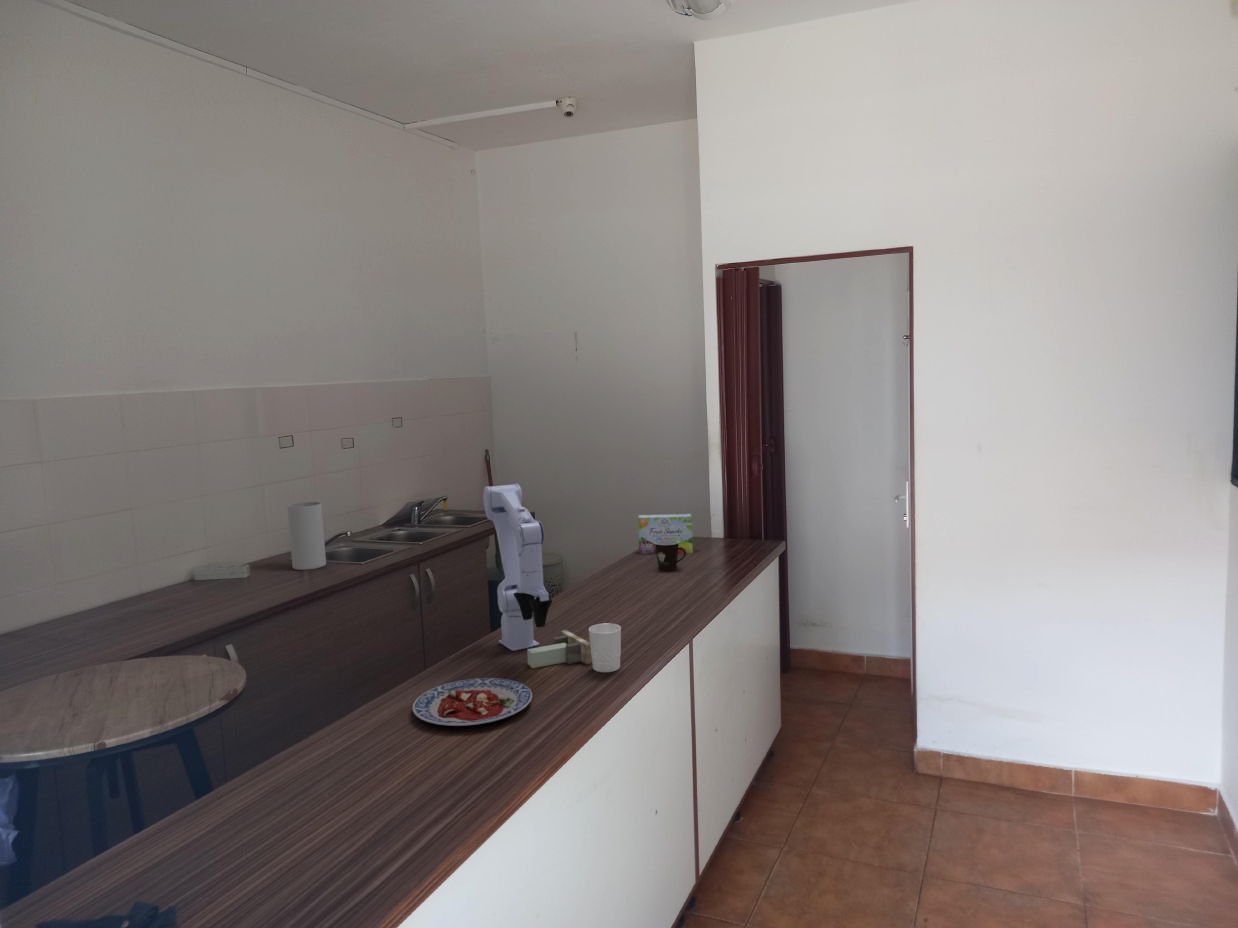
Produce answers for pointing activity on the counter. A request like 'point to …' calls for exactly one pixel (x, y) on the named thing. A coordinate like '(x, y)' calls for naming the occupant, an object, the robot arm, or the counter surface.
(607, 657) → the white cup
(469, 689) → the ceramic plate
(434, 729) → the counter surface
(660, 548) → the coffee mug
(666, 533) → the snack box
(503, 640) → the robot arm
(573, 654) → the wooden base
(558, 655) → the block
